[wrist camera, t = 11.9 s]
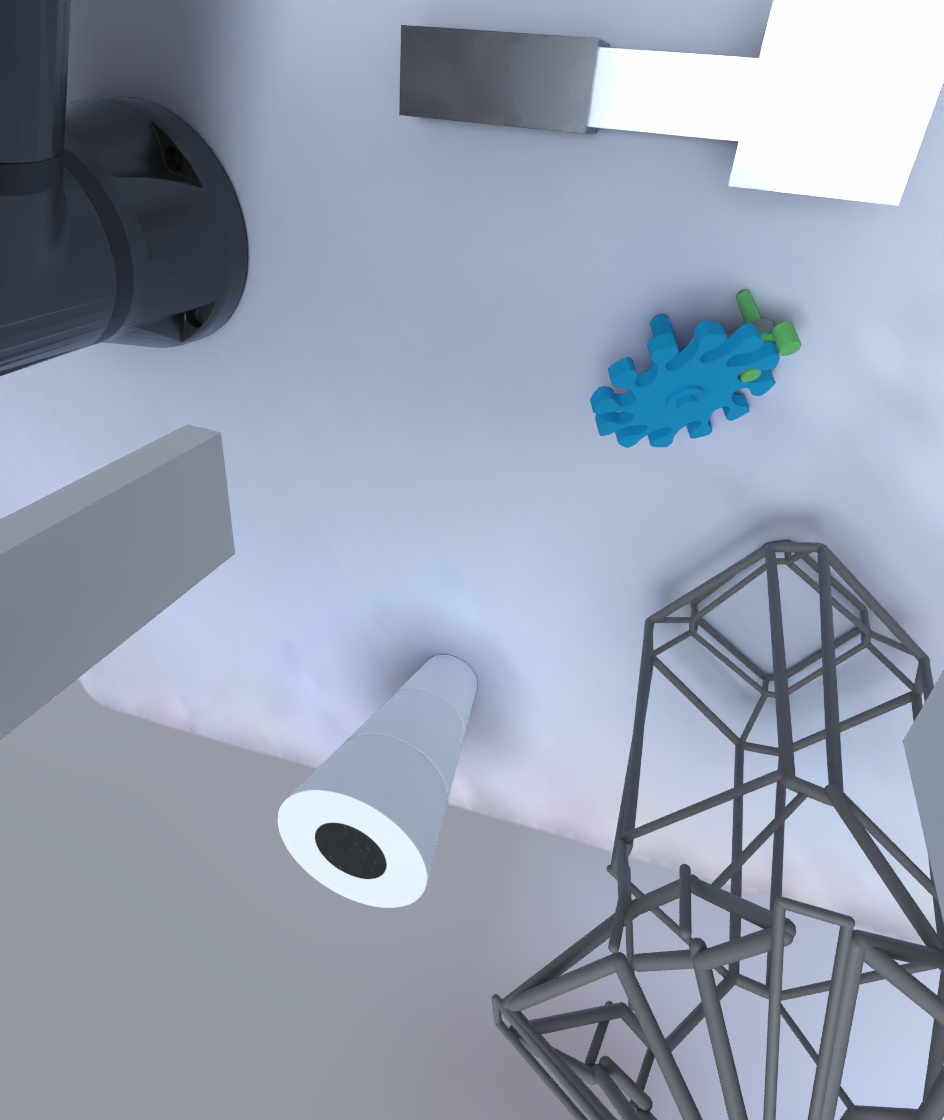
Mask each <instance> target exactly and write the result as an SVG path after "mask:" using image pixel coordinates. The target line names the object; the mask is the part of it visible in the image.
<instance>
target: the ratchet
mask: <svg viewBox="0 0 944 1120" xmlns="http://www.w3.org/2000/svg"><path fill="white" fill-rule="evenodd" d="M758 61H759V58H746V57H732V56H718V55H704V54H689V53H675V52H661V51H647V50H633V49H618V48H609V44H608V43H606V42H604V41H603V40H601V39H599V38H585V37H570V36H556V35H541V34H526V33H511V32H496V31H481V30H466V29H452V28H437V27H422V26H407V25H401V64H400V113H399V115H405V116H415V117H425V118H435V119H445V120H455V121H465V122H475V123H485V124H495V125H505V126H515V127H525V128H534V129H544V130H554V131H564V132H574V133H584V134H592V133H596V132H597V127H598V128H608V129H618V130H628V131H638V132H649V133H659V134H669V135H679V136H689V137H700V138H710V139H720V140H730V141H739V139H740V135H741V131H742V127H743V122H744V118H745V114H746V110H747V106H748V102H749V98H750V94H751V90H752V85H753V81H754V77H755V73H756V69H757V65H758Z"/></svg>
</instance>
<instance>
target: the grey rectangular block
mask: <svg viewBox="0 0 944 1120" xmlns="http://www.w3.org/2000/svg"><path fill="white" fill-rule="evenodd" d="M943 81H944V0H773V3H772V8H771V12H770V16H769V20H768V24H767V28H766V32H765V36H764V40H763V44H762V49H761V53H760V57H759V61H758V65H757V69H756V73H755V77H754V81H753V85H752V90H751V94H750V98H749V102H748V106H747V110H746V114H745V118H744V122H743V127H742V131H741V135H740V139H739V143H738V147H737V151H736V155H735V159H734V163H733V168H732V172H731V176H730V180H729V184H728V186H732V187H741V188H750V189H758V190H767V191H776V192H784V193H793V194H802V195H811V196H819V197H828V198H837V199H846V200H854V201H863V202H872V203H880V204H889V205H899V202H900V199H901V197H902V194H903V191H904V188H905V186H906V183H907V180H908V177H909V175H910V172H911V169H912V166H913V164H914V161H915V158H916V155H917V153H918V150H919V147H920V144H921V142H922V139H923V136H924V133H925V131H926V128H927V125H928V122H929V119H930V117H931V114H932V111H933V108H934V106H935V103H936V100H937V97H938V95H939V92H940V89H941V86H942V84H943Z"/></svg>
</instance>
